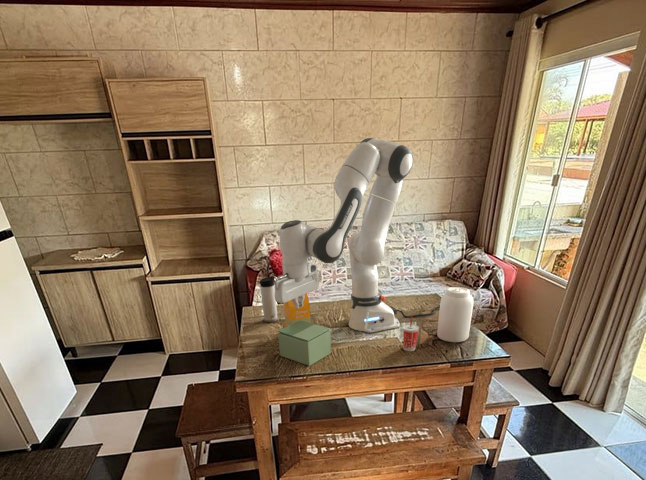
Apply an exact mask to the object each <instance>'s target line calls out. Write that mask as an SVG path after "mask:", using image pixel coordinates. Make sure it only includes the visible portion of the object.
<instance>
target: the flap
mask: <svg viewBox="0 0 646 480" xmlns="http://www.w3.org/2000/svg"><path fill="white" fill-rule="evenodd" d="M313 325H315V323H312V322H311V323H309V322H305V321H301V320H300V321H298V322H296V323H294V324H292V325H290V326H287V327H286V326H285V327H283V328H281V329H280V330H277V333H279V332H280V333H283V334H286V335H289V336H293V335H295V334H297V333H299V332H301V331H303V330H305V329H307V328H309V327H311V326H313Z"/></svg>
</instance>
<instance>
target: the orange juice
mask: <svg viewBox="0 0 646 480" xmlns="http://www.w3.org/2000/svg"><path fill="white" fill-rule="evenodd" d="M298 300H299V297H298ZM298 300H297V301H298ZM310 304H311V303H310V301H309V297H308V293H306V294H305V298H304V301H303V307H300V308H298V309H296V308H295V306H294V303H293V302H292V300H290V301H288V302H286V303H283V310H284V322H285V323H284V324H285V327H287V326H290V325H292V324H294V323H296V322H298V321H300V320H301V321H305V322H309V323H312V322H311V320H312V319H311V308H310V307H311V306H310Z"/></svg>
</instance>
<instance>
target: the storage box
mask: <svg viewBox="0 0 646 480" xmlns="http://www.w3.org/2000/svg"><path fill="white" fill-rule="evenodd" d="M314 324H315V323H314ZM331 334H332V333H331V328H330V327H326V326H323V325H319V324H315V325H313V326H311V327H309V328H307V329H305V330H303V331H301V332H299V333H297V334H295V335H293V336H289V335H286V334H283V333H280V332H277V337H278V338H277V339H278V349H279V356H280V357H283V358H286V359H288V360H291V361H294V362H297V363H300V364H303V365H306V366H308V367H309V366H310V367H311V366H312V365H314V364H315V363H317V362H319V361H321V360H322V359H323V358H325V357H327V356H329V355H330V354H332V337H331Z"/></svg>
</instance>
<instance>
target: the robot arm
mask: <svg viewBox="0 0 646 480" xmlns="http://www.w3.org/2000/svg"><path fill="white" fill-rule="evenodd" d="M413 164H414V155H413V152H412V150H411V148H409V147H407V146H406V145H404V144H399V143H397V142H394V141H391V140H386V139H385V140H384V139H378V138H375V137H367V138H364V139H363V140H361V141H360V142H359V143H358V144H357V145H356V147H354V148H353V150H352V151H351V152H350V154H349V155H348V156H347V157H346V159H345V160H344V162H343V164H342V166H341V167H340V169H339V170H338V172H337V174H336V176H335V179H334V182H333V188H334V191H335V194H336V196H337V197H338V198H339V200H340V206H339V209H338V210H337V212H336V214H335V217H334V218H333V221H332V222H331V225H330V226H329V227H328V228H327V229H322V228H319V227H314V226H311V225H309V224H306V223H304V222H303V221H302V220H300V219H294V220H290V221H289V220H288V221H287V222H284V223H283V224H282V225H281V226H280V228H279V246H280V252H281V256H282V259H281V265H282V274H281V275H277V276H276V279H275V280H274V287H275V300H276V303H278V304H284V303H286V302H288V301H290V300H292V302H293V303H294V306H295V308H296V309H298V308H300V307H303V301H304V298H305V294H306V293H307V294H308V293H311V292H313V291H315V290H318V289H319V287H320V285H319V284H320V280H319V279H320V278H319V273H318V269H319V268H318V264H314V263H311V262H308V258H309V257H313V258H315V259H317V260H319V261H320V262H322V263H324V264H332V263H335V262H336V261H338V260H339V259H340V258H341V256H342V254H343V252H344V249H345V245H346V240H347V237H348V236H349V233H350V230H351V229H352V226H353V225H354V222H355V221H356V218H357V216H358V214H359V212H360V210H361V207H362V204H363V200H364V195H365V193H366V191H367V189H368V187H369V185H370V183H371V182H372V180H373V178H374V177H375V175H376V178H375V180H374V182H373V183H372V184H373V185H372V187H371V189H370V192H369V195H368V198H367V201H366V204H365V207H364V210H363V212H362V220H361V226H360V230H359V231H356V232H354V233H353V234H352V235H351V236H350V237H349V239H348V252H349V263H350V271H351V294H350V307H351V310H350V316H349V322H348V327H349V328H350V329H352V330H355V331H359V332H365V333H368V334H372V333H376V332H381V331H387V330H393V329H396V328H399V327H400V326H401V324H400V321H399V319H398V318H397V317H395V315H397V313H398V312H399V313H401V315H402V317H403V318H411V315H412V318H416V317H426V316H431V315H434V314H435V311H436V310H438V309H440V305H438V306H435V307H434V308H432V312H430V313H420V314H411V315H406V314H405V313H404V312H403V310H400V309H397V308H395V307H394V306H391V305H390V306H389V305H388V304H386V303H385V301H386V300H387V298H386V296H385V295H383V294H381V293H380V292H379V273H378V268H377V265H379V264H380V263H382V261H383V259H384V256H385V245H386V241H387V237H388V233H389V232H388V231H389V227H390V224H391V220H392V217H393V215H394V212H395V209H396V207H397V203H398V201H399V198H400V194H401V191H402V187H403V183H404V182H403V181H404V179H406V177H407V176H408V175H409V173H410V172H411V170H412V168H413ZM298 297H299V300H298ZM297 300H298V301H297Z"/></svg>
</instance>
